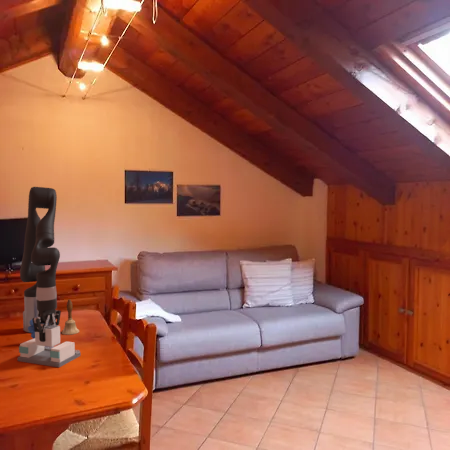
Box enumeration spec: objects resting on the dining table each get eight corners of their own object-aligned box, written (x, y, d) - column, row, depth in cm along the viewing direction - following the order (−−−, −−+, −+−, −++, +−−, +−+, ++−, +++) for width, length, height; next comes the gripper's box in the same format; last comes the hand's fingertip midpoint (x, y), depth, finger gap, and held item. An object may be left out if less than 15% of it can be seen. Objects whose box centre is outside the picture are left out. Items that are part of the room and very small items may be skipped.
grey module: (35, 344, 176) (34, 326, 175) (44, 340, 180) (43, 323, 180) (51, 347, 173) (51, 328, 173) (60, 343, 178) (59, 325, 177)
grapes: (26, 346, 192) (25, 319, 191) (28, 341, 198) (28, 315, 197) (55, 344, 195) (54, 317, 194) (56, 339, 201) (55, 313, 201)
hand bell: (75, 335, 208) (75, 301, 207) (58, 334, 208) (57, 301, 207) (81, 329, 216) (81, 297, 215) (65, 329, 216) (64, 297, 215)
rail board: (17, 360, 175) (17, 344, 175) (40, 350, 188) (40, 335, 187) (59, 367, 169) (58, 350, 168) (80, 355, 181) (80, 340, 181)
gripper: (51, 293, 184) (52, 333, 185) (25, 300, 170) (26, 343, 171) (66, 294, 181) (67, 334, 182) (41, 302, 168) (42, 346, 169)
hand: (47, 339), depth 177 cm, fingers closed on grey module, 5 cm apart
